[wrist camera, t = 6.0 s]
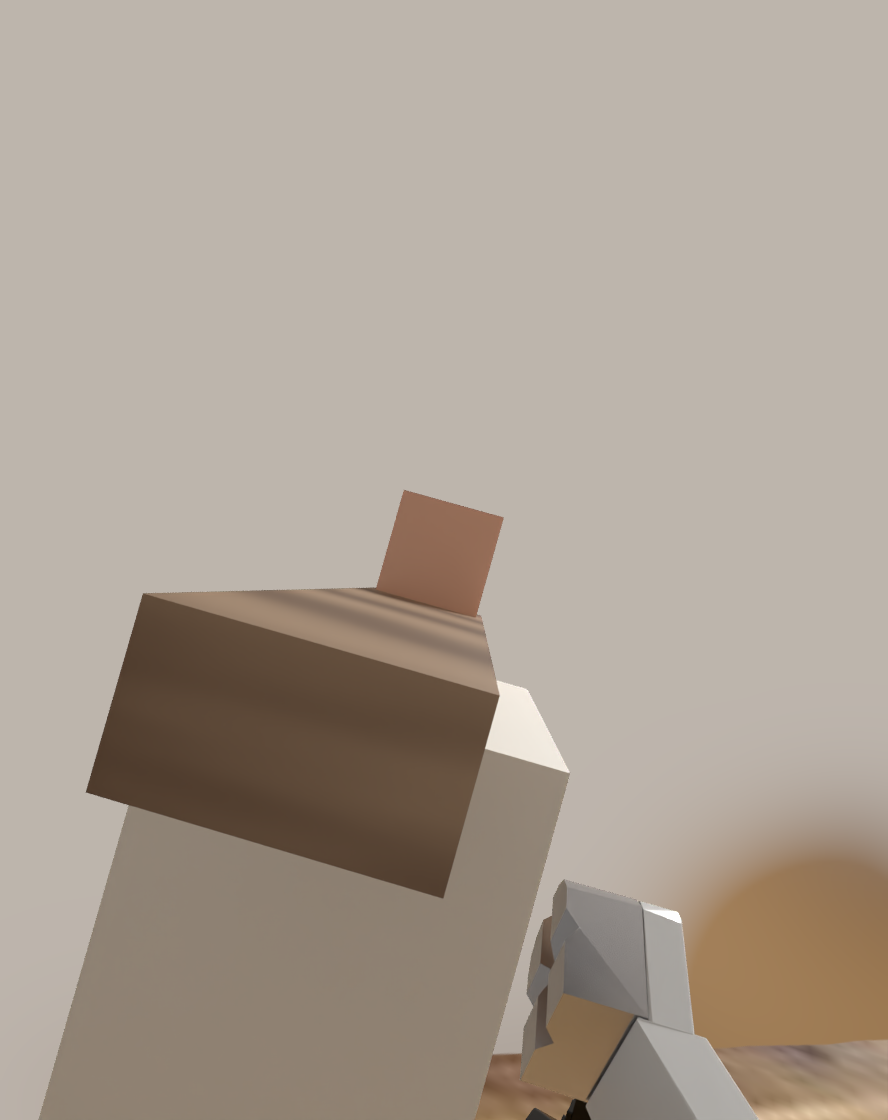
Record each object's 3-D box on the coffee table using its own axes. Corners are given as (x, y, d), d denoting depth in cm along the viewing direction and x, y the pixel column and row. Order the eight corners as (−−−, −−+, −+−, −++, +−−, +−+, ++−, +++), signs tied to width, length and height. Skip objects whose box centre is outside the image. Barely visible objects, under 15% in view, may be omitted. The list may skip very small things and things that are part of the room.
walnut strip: (365, 643, 36) (381, 587, 36) (465, 671, 36) (481, 615, 36) (85, 791, 10) (143, 593, 10) (443, 898, 10) (500, 695, 10)
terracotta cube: (386, 589, 36) (411, 500, 36) (475, 614, 36) (500, 525, 36) (375, 589, 32) (403, 489, 32) (475, 617, 32) (503, 517, 32)
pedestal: (139, 1210, 36) (304, 625, 36) (362, 1281, 35) (527, 689, 36) (-133, 1717, 20) (170, 658, 20) (269, 1860, 19) (569, 773, 20)
